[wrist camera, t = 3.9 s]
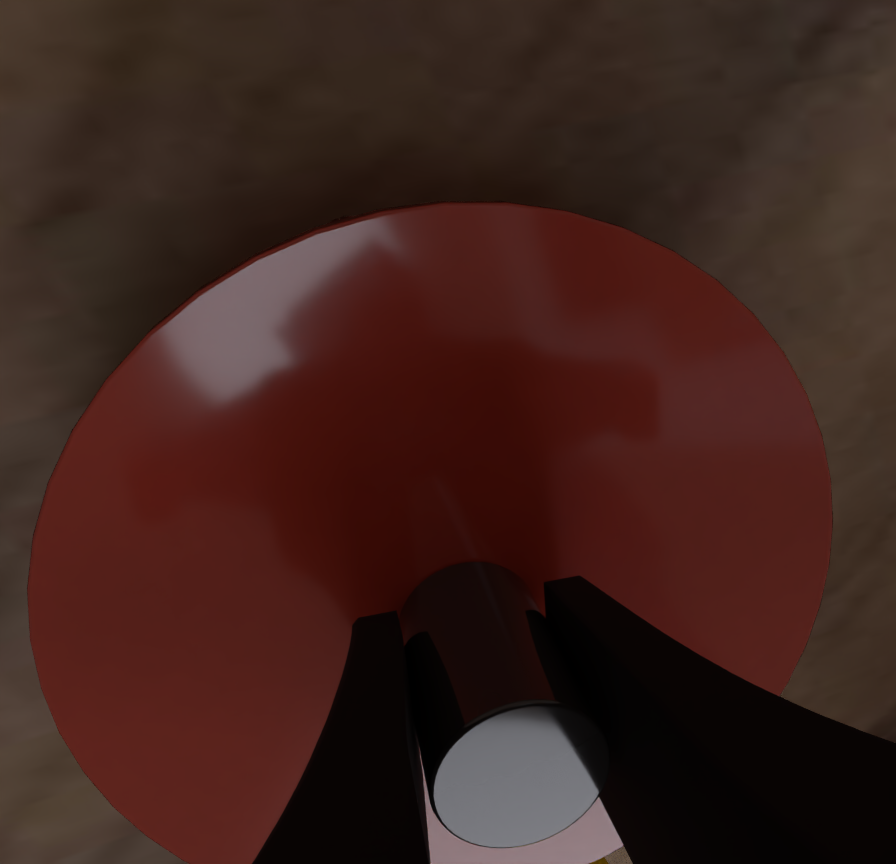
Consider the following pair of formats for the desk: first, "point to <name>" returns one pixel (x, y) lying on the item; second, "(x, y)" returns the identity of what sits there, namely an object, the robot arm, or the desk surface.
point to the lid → (418, 518)
